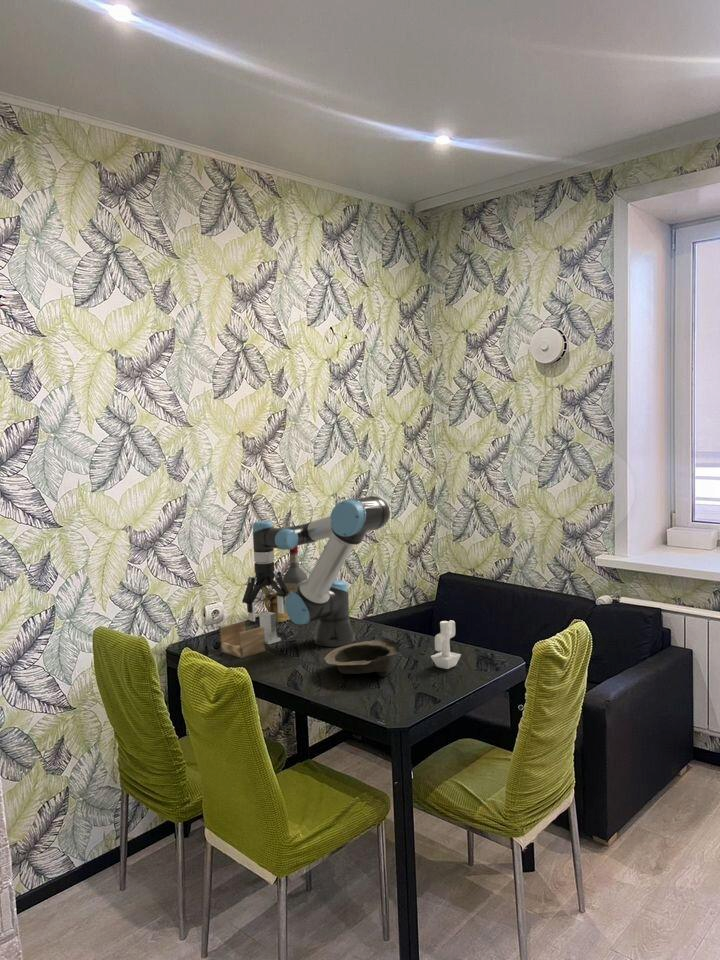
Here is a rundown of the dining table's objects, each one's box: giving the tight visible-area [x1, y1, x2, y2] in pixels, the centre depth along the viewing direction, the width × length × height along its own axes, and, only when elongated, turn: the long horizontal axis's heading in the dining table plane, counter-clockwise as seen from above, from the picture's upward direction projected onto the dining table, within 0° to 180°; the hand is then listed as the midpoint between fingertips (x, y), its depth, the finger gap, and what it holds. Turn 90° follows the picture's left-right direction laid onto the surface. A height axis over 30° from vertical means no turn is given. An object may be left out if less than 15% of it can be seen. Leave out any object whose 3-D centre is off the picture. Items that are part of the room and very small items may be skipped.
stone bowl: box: [323, 637, 400, 678], centre depth 241 cm, size 25×25×9 cm
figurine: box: [430, 619, 462, 670], centre depth 242 cm, size 7×9×15 cm
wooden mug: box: [258, 585, 290, 624], centre depth 309 cm, size 9×14×18 cm, turn 128°
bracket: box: [258, 610, 282, 645], centre depth 281 cm, size 7×6×11 cm
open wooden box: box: [219, 621, 266, 659], centre depth 269 cm, size 13×11×9 cm
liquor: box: [282, 545, 308, 597], centre depth 320 cm, size 9×9×30 cm
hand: (266, 616), depth 281 cm, fingers open, 13 cm apart
